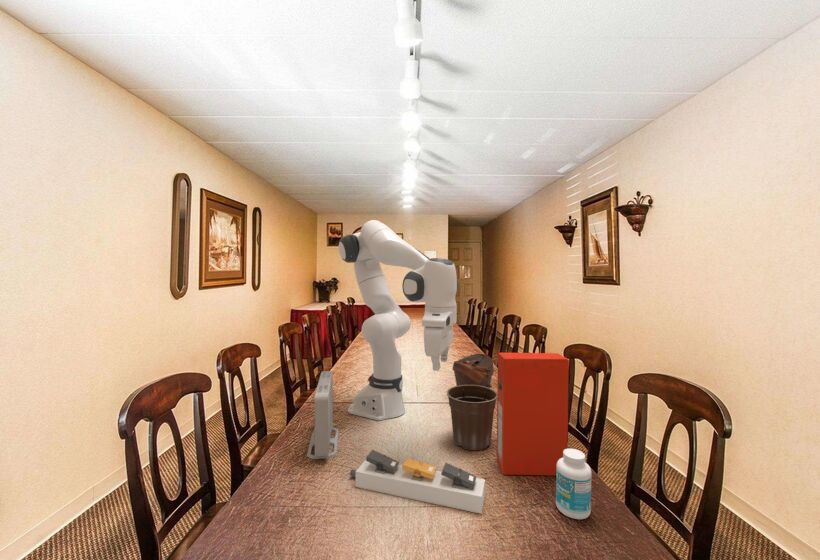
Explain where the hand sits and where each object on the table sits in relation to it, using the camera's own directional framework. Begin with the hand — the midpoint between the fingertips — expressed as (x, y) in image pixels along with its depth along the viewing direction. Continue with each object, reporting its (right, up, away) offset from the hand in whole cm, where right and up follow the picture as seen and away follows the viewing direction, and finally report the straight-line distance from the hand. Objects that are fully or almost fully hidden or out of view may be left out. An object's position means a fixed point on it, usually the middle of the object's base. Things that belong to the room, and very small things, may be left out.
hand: (440, 365), depth 99 cm
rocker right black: (+3, -24, -13) cm, 27 cm away
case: (+19, -28, +56) cm, 65 cm away
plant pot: (+12, -29, +16) cm, 35 cm away
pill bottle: (+30, -30, -16) cm, 45 cm away
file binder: (+26, -30, +1) cm, 39 cm away
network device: (-36, -29, +15) cm, 49 cm away
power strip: (-8, -29, -9) cm, 32 cm away
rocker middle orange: (-6, -24, -10) cm, 27 cm away
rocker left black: (-16, -24, -7) cm, 29 cm away
